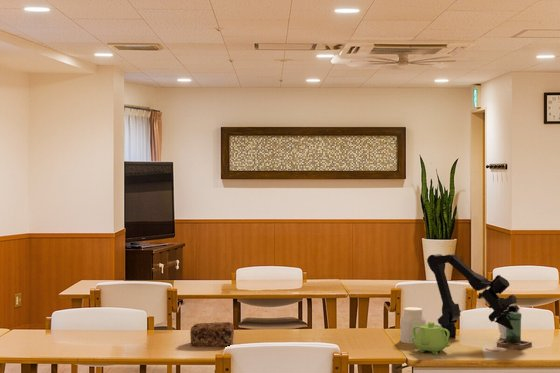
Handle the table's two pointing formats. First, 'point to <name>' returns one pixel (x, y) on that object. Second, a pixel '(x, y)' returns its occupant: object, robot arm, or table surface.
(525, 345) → the walnut tray
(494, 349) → the cork coaster
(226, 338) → the bread
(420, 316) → the jar
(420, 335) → the teapot
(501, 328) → the jar
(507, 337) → the tea canister
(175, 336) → the table surface
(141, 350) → the table surface
